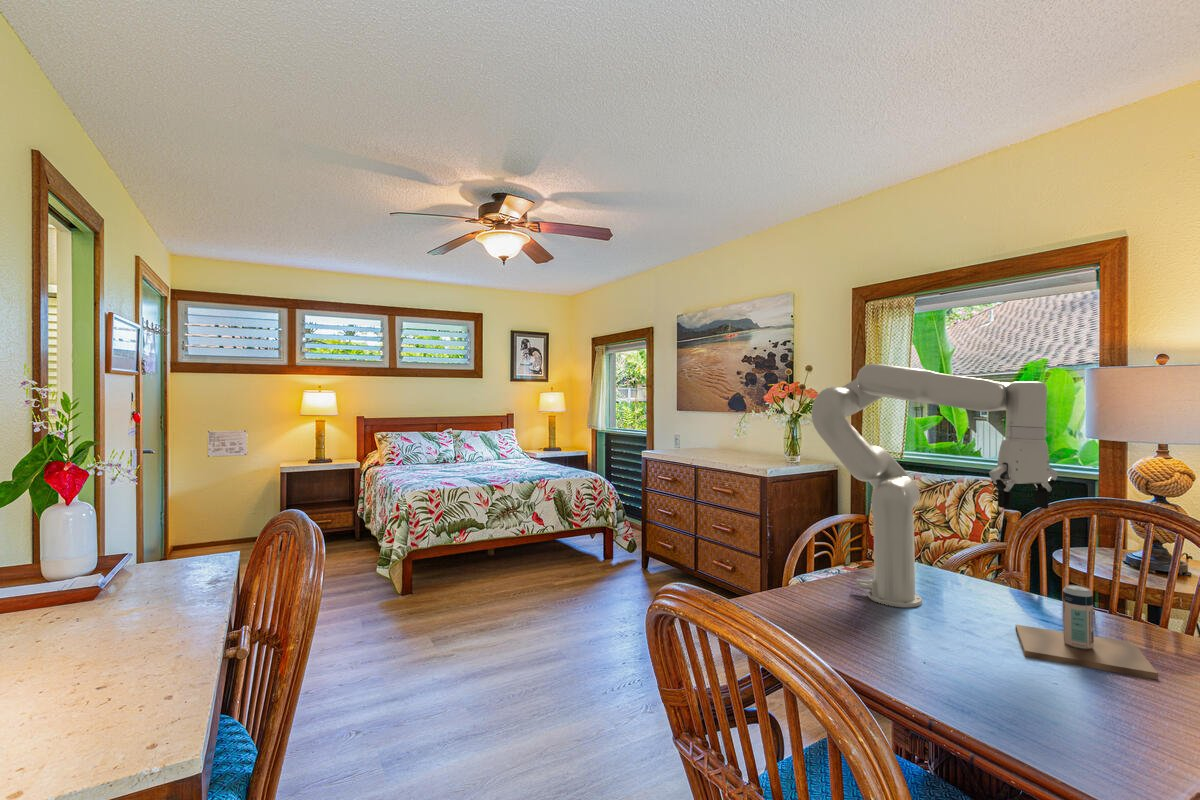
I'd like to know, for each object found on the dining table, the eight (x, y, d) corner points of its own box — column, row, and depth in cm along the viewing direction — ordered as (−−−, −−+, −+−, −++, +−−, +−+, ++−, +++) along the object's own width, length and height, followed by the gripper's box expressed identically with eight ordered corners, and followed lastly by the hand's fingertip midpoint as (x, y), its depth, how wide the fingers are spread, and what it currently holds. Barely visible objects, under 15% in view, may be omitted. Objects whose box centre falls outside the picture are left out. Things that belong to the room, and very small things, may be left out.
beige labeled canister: (1082, 641, 121) (1081, 584, 121) (1099, 651, 116) (1098, 591, 116) (1058, 640, 121) (1057, 583, 122) (1074, 650, 117) (1073, 591, 117)
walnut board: (1025, 656, 117) (1024, 650, 117) (1015, 629, 131) (1015, 624, 131) (1158, 679, 107) (1158, 673, 107) (1132, 648, 120) (1132, 642, 120)
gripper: (1042, 433, 139) (1040, 504, 139) (979, 432, 136) (976, 504, 136) (1072, 436, 131) (1070, 510, 132) (1006, 435, 129) (1003, 511, 129)
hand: (1022, 507), depth 134 cm, fingers open, 9 cm apart
